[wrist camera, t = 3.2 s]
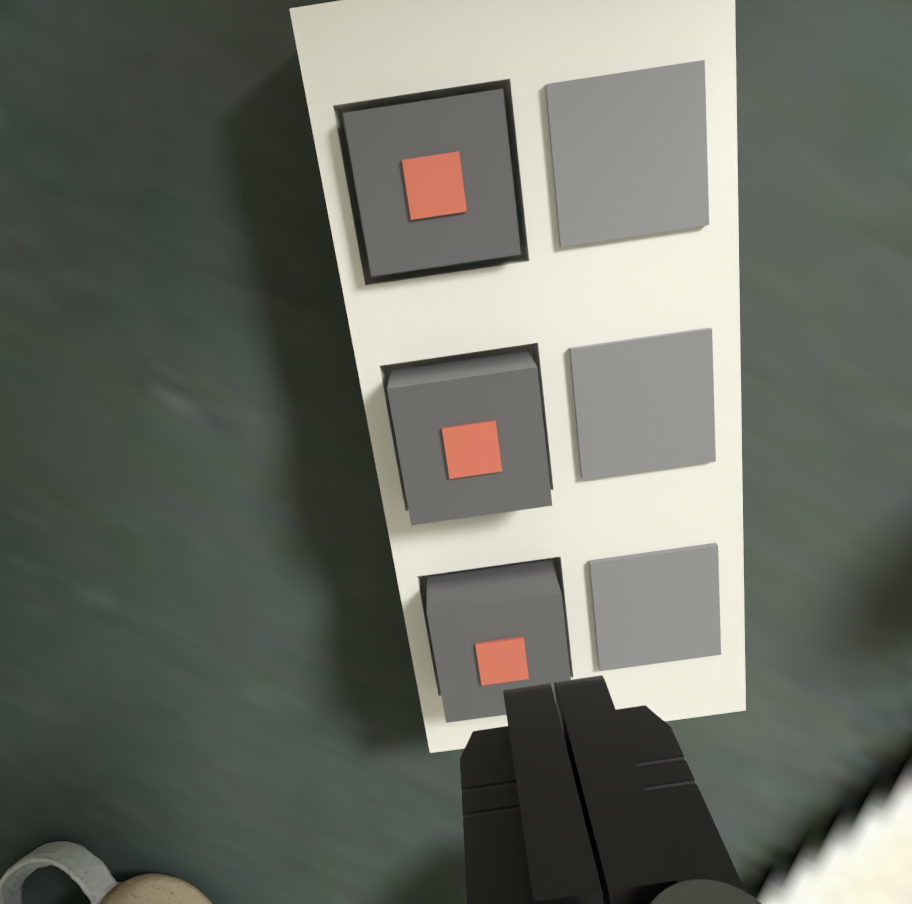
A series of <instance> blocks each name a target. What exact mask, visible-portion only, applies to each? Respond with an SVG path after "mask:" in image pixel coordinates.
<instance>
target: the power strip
mask: <svg viewBox="0 0 912 904" xmlns="http://www.w3.org/2000/svg"><path fill="white" fill-rule="evenodd" d="M289 10H290V15H291V20H292V26H293V31H294V36H295V42H296V47H297V52H298V57H299V63H300V68H301V73H302V79H303V84H304V89H305V94H306V100H307V105H308V110H309V116H310V121H311V126H312V132H313V137H314V142H315V147H316V153H317V158H318V163H319V169H320V174H321V179H322V184H323V190H324V195H325V200H326V206H327V211H328V216H329V221H330V227H331V232H332V237H333V243H334V248H335V253H336V259H337V264H338V269H339V274H340V280H341V285H342V290H343V296H344V301H345V306H346V311H347V317H348V322H349V327H350V333H351V338H352V343H353V348H354V354H355V359H356V364H357V370H358V375H359V380H360V386H361V391H362V396H363V401H364V407H365V412H366V417H367V423H368V428H369V433H370V438H371V444H372V449H373V454H374V460H375V465H376V470H377V476H378V481H379V486H380V491H381V497H382V502H383V507H384V513H385V518H386V523H387V528H388V534H389V539H390V544H391V550H392V555H393V560H394V565H395V571H396V576H397V581H398V587H399V592H400V597H401V603H402V608H403V613H404V618H405V624H406V629H407V634H408V640H409V645H410V650H411V655H412V661H413V666H414V671H415V677H416V682H417V687H418V692H419V698H420V703H421V708H422V714H423V719H424V724H425V730H426V735H427V740H428V745H429V751H430V753H433V752H441V751H448V750H456V749H463V748H465V747H466V745H467V743H468V741H469V738H470V736H471V734H472V732H473V731H478V730H484V729H491V728H498V727H504V726H508V722H507V715H500V716H493V717H486V718H478V719H471V720H464V721H456V722H449V723H446V719H445V713H444V708H443V702H442V696H441V691H440V685H439V679H438V674H437V668H436V663H435V657H434V651H433V646H432V640H431V634H430V629H429V623H428V617H427V576H430V575H437V574H445V573H452V572H459V571H466V570H473V569H480V568H488V567H495V566H502V565H509V564H516V563H523V562H531V561H538V560H545V559H551V561H552V564H553V567H554V571H555V574H556V577H557V580H558V583H559V586H560V590H561V593H562V601H563V610H564V620H565V629H566V638H567V647H568V657H569V666H570V675H571V680H573V679H580V678H586V677H593V676H600V675H602V676H603V677H604V679H605V682H606V685H607V687H608V690H609V693H610V696H611V698H612V701H613V704H614V707H615V709H616V710H617V709H624V708H630V707H637V706H644V705H646V706H647V707H648V708H649V709H650V710H652V711H653V712H654V713H655V714H656V715H657V716H658V717H660V718H661V719H662V720H663V721H671V720H678V719H686V718H693V717H700V716H708V715H715V714H723V713H730V712H737V711H745V710H746V694H745V628H744V562H743V496H742V431H741V365H740V299H739V233H738V167H737V102H736V36H735V0H341V1H335V2H328V3H322V4H315V5H309V6H302V7H296V8H290V9H289ZM498 89H503V94H504V104H505V113H506V122H507V131H508V140H509V149H510V159H511V168H512V177H513V186H514V195H515V204H516V214H517V223H518V232H519V241H520V250H521V254H520V255H513V256H506V257H500V258H493V259H486V260H479V261H472V262H466V263H459V264H452V265H445V266H439V267H432V268H425V269H418V270H412V271H405V272H398V273H391V274H385V275H378V276H371V272H370V266H369V260H368V254H367V249H366V243H365V237H364V232H363V226H362V220H361V215H360V209H359V203H358V197H357V192H356V186H355V180H354V175H353V169H352V163H351V157H350V152H349V146H348V140H347V135H346V129H345V123H344V118H343V113H347V112H353V111H360V110H367V109H373V108H380V107H386V106H393V105H399V104H406V103H413V102H419V101H426V100H432V99H439V98H445V97H452V96H458V95H465V94H472V93H478V92H485V91H491V90H498ZM527 350H528V352H529V354H530V355H531V357H532V359H533V360H534V362H535V364H536V366H537V368H538V377H539V386H540V396H541V405H542V414H543V424H544V433H545V442H546V452H547V461H548V470H549V480H550V489H551V498H552V506H546V507H539V508H532V509H525V510H518V511H511V512H504V513H497V514H490V515H483V516H475V517H468V518H461V519H454V520H447V521H440V522H433V523H426V524H419V525H412V526H411V521H410V516H409V510H408V504H407V499H406V493H405V488H404V482H403V476H402V471H401V465H400V459H399V454H398V448H397V442H396V437H395V431H394V425H393V420H392V414H391V408H390V403H389V397H388V392H387V387H388V383H389V378H390V374H391V370H396V369H403V368H410V367H417V366H424V365H430V364H437V363H444V362H451V361H458V360H465V359H472V358H479V357H485V356H492V355H499V354H506V353H513V352H520V351H527Z"/></svg>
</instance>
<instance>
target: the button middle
mask: <svg viewBox="0 0 912 904" xmlns="http://www.w3.org/2000/svg"><path fill="white" fill-rule="evenodd" d="M387 392H388V397H389V403H390V408H391V414H392V420H393V425H394V431H395V437H396V442H397V448H398V454H399V459H400V465H401V471H402V476H403V482H404V488H405V493H406V499H407V504H408V510H409V516H410V521H411V526H412V525H419V524H426V523H433V522H440V521H447V520H454V519H461V518H468V517H475V516H483V515H490V514H497V513H504V512H511V511H518V510H525V509H532V508H539V507H546V506H552V498H551V489H550V480H549V470H548V461H547V452H546V442H545V433H544V424H543V414H542V405H541V396H540V386H539V377H538V368H537V366H536V364H535V362H534V360H533V359H532V357H531V355H530V354H529V352H528V350H527V351H520V352H513V353H506V354H499V355H492V356H485V357H479V358H472V359H465V360H458V361H451V362H444V363H437V364H430V365H424V366H417V367H410V368H403V369H396V370H391V374H390V378H389V383H388V387H387Z"/></svg>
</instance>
